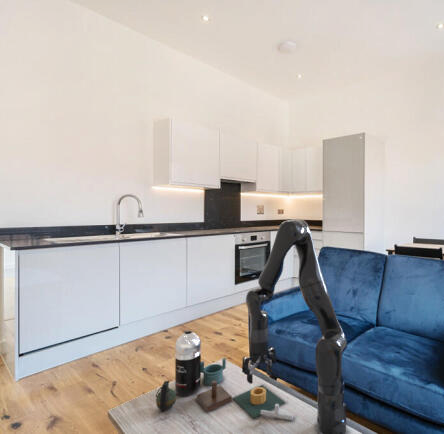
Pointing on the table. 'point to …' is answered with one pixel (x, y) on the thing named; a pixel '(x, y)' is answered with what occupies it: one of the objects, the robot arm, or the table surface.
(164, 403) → the hand grenade
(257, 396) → the tape roll
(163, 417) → the table surface
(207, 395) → the tape holder
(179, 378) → the black ribbed cylinder
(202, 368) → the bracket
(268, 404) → the desk mat
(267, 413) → the pipe joint
